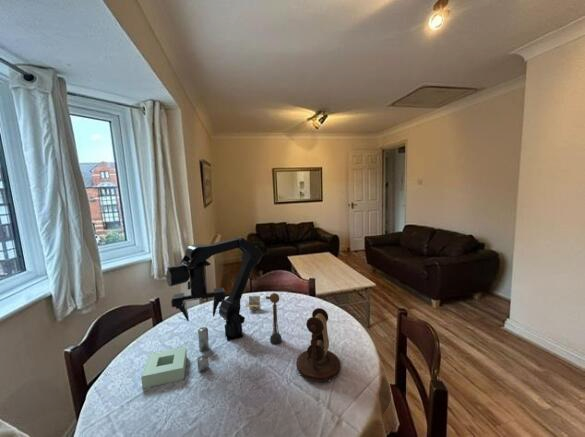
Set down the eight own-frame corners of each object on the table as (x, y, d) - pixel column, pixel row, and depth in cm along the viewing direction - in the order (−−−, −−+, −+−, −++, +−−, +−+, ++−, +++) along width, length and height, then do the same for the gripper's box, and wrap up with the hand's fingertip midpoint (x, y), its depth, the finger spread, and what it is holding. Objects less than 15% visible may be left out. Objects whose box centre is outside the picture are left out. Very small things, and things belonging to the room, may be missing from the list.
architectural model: (259, 313, 131) (258, 298, 130) (245, 313, 131) (245, 298, 130) (260, 310, 134) (260, 296, 133) (247, 310, 134) (246, 296, 134)
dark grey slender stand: (265, 343, 104) (264, 294, 102) (269, 337, 108) (267, 290, 106) (280, 345, 103) (278, 296, 100) (283, 338, 107) (281, 291, 105)
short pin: (208, 364, 92) (208, 354, 92) (208, 371, 89) (208, 360, 88) (198, 367, 91) (197, 356, 91) (197, 373, 88) (197, 362, 87)
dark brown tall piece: (335, 390, 79) (335, 327, 77) (290, 379, 84) (288, 319, 82) (343, 360, 93) (343, 305, 91) (304, 352, 98) (303, 300, 96)
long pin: (208, 345, 103) (207, 326, 103) (208, 350, 100) (207, 330, 99) (199, 347, 102) (198, 328, 102) (199, 352, 99) (197, 332, 98)
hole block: (186, 357, 97) (186, 346, 96) (183, 379, 85) (183, 367, 85) (150, 364, 93) (149, 353, 93) (142, 388, 82) (141, 376, 81)
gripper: (222, 269, 109) (225, 305, 110) (173, 275, 103) (177, 313, 105) (223, 278, 98) (226, 317, 100) (169, 285, 93) (173, 326, 95)
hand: (201, 318), depth 100 cm, fingers open, 9 cm apart
